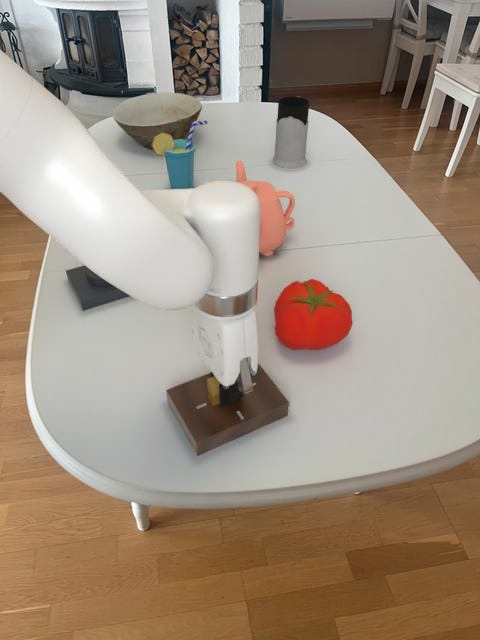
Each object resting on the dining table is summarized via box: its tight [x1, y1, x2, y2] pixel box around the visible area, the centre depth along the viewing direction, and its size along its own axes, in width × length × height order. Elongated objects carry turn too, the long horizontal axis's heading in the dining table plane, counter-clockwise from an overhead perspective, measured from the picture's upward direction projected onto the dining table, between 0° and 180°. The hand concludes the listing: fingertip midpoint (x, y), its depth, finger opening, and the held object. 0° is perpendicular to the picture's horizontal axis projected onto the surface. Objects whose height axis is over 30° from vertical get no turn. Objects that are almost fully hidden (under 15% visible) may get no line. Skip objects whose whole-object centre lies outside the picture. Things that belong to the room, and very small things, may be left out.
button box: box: [65, 264, 131, 311], centre depth 94 cm, size 12×10×4 cm
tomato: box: [273, 278, 353, 351], centre depth 82 cm, size 14×13×9 cm
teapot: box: [235, 160, 296, 257], centre depth 102 cm, size 16×17×14 cm
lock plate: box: [165, 362, 290, 457], centre depth 73 cm, size 14×10×3 cm
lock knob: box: [207, 376, 243, 406], centre depth 70 cm, size 5×2×4 cm, turn 118°
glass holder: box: [272, 95, 310, 169], centre depth 132 cm, size 9×14×15 cm, turn 166°
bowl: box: [112, 92, 203, 150], centre depth 141 cm, size 24×24×10 cm
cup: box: [152, 120, 208, 189], centre depth 119 cm, size 14×8×15 cm, turn 129°
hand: (226, 394), depth 72 cm, fingers closed on lock knob
